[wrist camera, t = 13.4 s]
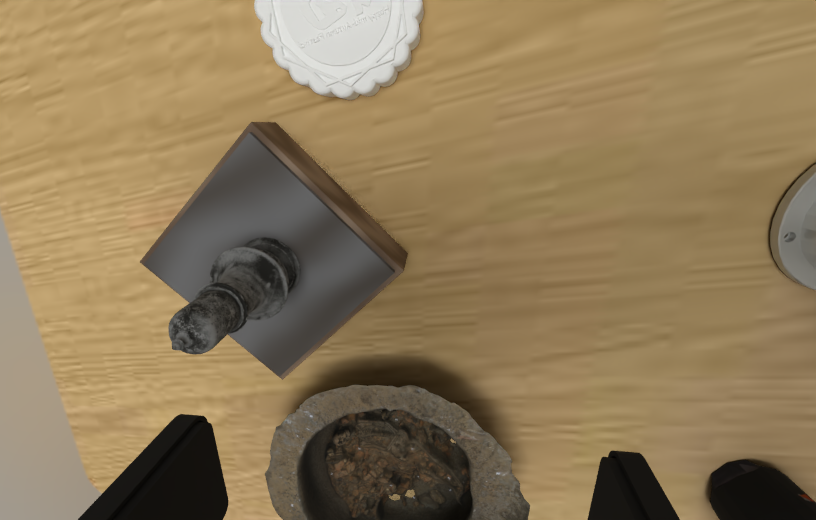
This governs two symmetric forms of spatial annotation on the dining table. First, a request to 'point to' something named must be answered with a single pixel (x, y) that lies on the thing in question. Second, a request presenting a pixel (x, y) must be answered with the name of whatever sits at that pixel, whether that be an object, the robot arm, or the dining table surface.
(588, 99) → the dining table surface
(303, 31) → the mooncake
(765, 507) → the portable speaker
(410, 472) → the stone bowl
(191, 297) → the walnut base
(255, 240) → the black chess piece
